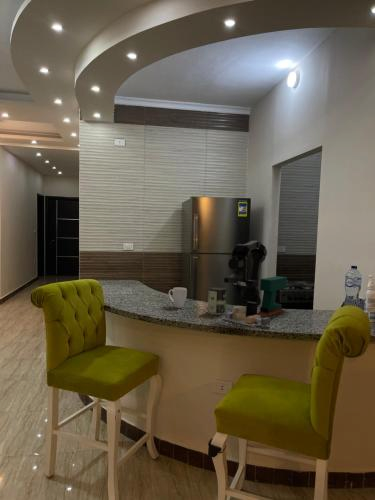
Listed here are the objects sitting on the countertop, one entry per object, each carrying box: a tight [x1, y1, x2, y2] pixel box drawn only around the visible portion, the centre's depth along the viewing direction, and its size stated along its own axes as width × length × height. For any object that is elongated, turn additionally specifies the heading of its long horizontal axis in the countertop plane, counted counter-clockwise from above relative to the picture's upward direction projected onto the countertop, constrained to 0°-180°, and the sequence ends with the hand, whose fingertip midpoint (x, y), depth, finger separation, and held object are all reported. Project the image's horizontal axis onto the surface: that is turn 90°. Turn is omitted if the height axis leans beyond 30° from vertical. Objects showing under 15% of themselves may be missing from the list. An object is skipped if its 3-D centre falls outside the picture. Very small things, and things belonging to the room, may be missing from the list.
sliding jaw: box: [245, 314, 271, 326], centre depth 184 cm, size 9×10×3 cm
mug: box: [168, 286, 188, 309], centre depth 222 cm, size 12×8×11 cm
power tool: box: [258, 275, 289, 316], centre depth 222 cm, size 32×7×20 cm, turn 141°
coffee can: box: [207, 286, 228, 316], centre depth 209 cm, size 10×10×14 cm
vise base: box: [222, 311, 262, 328], centre depth 191 cm, size 10×20×4 cm, turn 44°
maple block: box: [232, 305, 247, 320], centre depth 193 cm, size 4×6×6 cm, turn 135°
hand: (239, 297), depth 193 cm, fingers closed
